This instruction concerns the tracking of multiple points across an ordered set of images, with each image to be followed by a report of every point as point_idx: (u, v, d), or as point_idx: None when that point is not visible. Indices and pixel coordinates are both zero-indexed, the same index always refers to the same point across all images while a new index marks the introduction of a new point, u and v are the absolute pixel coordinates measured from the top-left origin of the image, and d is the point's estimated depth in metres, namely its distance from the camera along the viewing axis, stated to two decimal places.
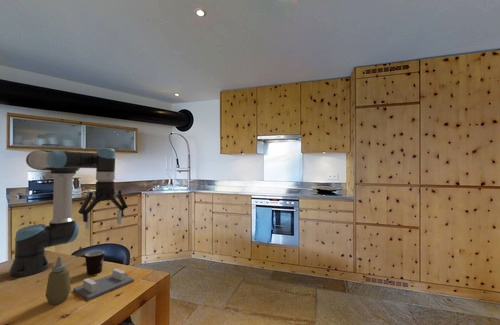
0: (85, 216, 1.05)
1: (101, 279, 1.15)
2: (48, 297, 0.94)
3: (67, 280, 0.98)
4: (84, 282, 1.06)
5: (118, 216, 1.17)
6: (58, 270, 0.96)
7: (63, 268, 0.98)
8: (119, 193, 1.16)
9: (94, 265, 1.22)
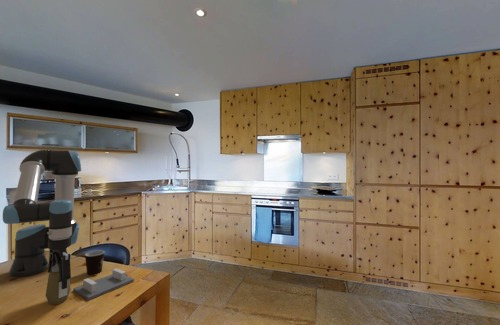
0: None
1: (101, 279, 1.15)
2: (48, 297, 0.94)
3: None
4: (84, 282, 1.06)
5: None
6: (58, 270, 0.96)
7: None
8: (62, 258, 0.94)
9: (94, 265, 1.22)
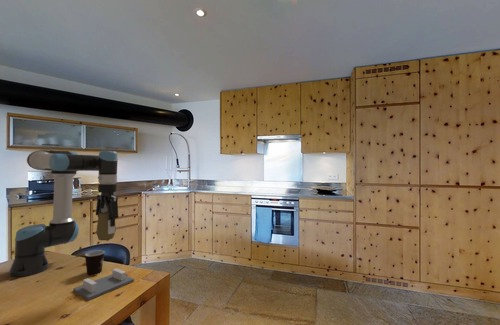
0: None
1: (101, 279, 1.15)
2: (99, 233, 1.08)
3: None
4: (84, 282, 1.06)
5: None
6: (107, 211, 1.10)
7: None
8: (111, 199, 1.08)
9: (94, 265, 1.22)
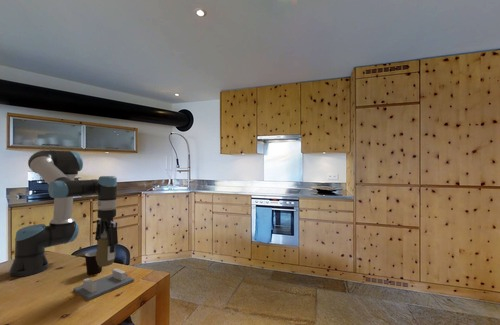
0: None
1: (101, 279, 1.15)
2: (98, 260, 1.07)
3: None
4: (84, 282, 1.06)
5: None
6: (106, 237, 1.09)
7: None
8: (110, 226, 1.07)
9: (94, 265, 1.22)
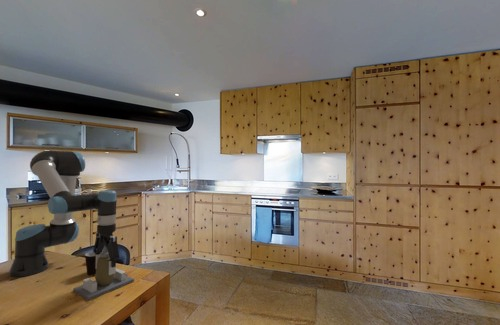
0: None
1: None
2: (98, 279, 1.07)
3: None
4: (84, 282, 1.06)
5: None
6: (106, 256, 1.09)
7: None
8: (110, 240, 1.07)
9: (94, 265, 1.22)
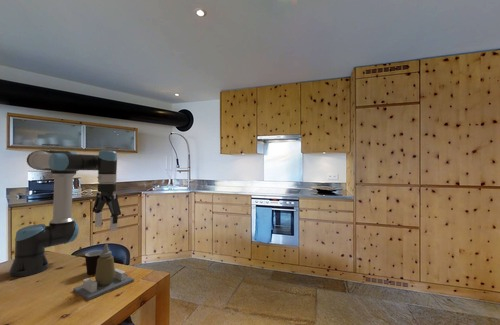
0: None
1: None
2: (98, 279, 1.07)
3: (113, 265, 1.11)
4: (84, 282, 1.06)
5: None
6: (106, 256, 1.09)
7: (109, 254, 1.11)
8: (111, 197, 1.08)
9: (94, 265, 1.22)
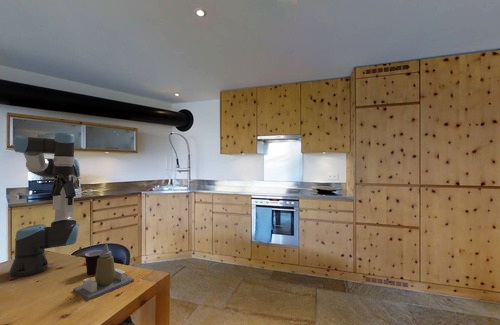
0: None
1: None
2: (98, 279, 1.07)
3: (113, 265, 1.11)
4: (84, 282, 1.06)
5: None
6: (105, 256, 1.09)
7: (109, 254, 1.11)
8: (66, 179, 1.08)
9: (94, 265, 1.22)
